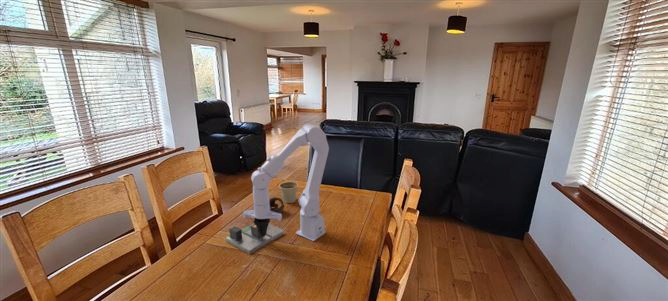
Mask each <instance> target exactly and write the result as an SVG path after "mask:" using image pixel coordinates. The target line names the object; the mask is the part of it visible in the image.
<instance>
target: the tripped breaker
mask: <svg viewBox="0 0 668 301" xmlns="http://www.w3.org/2000/svg"><path fill="white" fill-rule="evenodd" d="M253 224H254V223H253ZM251 225H252V224H251ZM251 234H252V235H254V236H256V237H260V236H261V235H260V232H259V230H258V228H257V226H256V225H255V224H254V225H252V226H251Z"/></svg>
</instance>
